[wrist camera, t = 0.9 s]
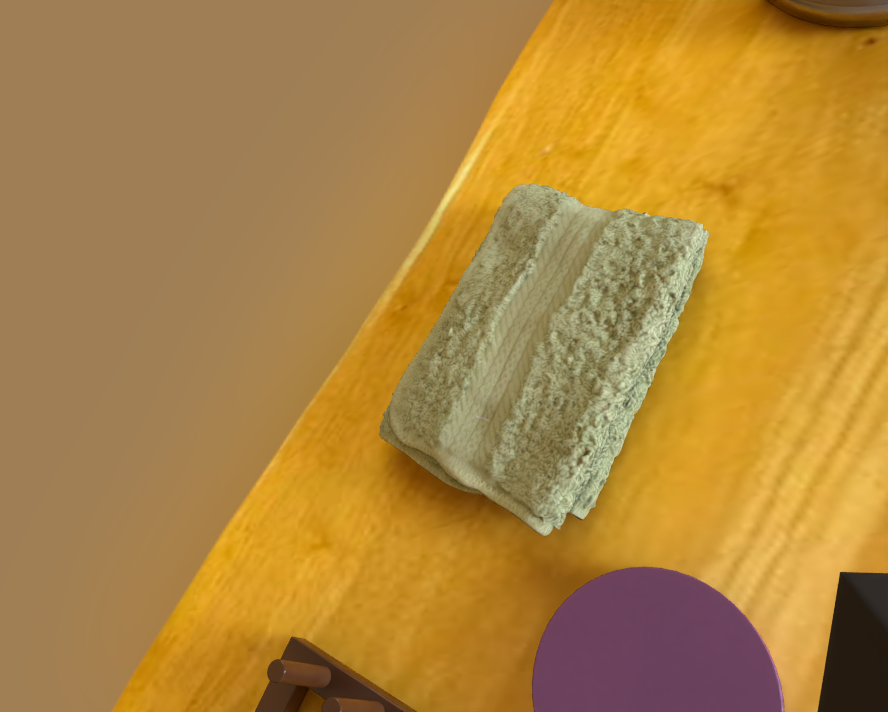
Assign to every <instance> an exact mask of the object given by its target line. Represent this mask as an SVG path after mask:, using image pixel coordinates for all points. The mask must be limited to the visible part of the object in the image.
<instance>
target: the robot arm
mask: <svg viewBox="0 0 888 712" xmlns="http://www.w3.org/2000/svg"><path fill="white" fill-rule="evenodd" d="M769 1H770V2H771V3H772V4H774V5H775V6H776V7H778V8H779V9H781V10H783V11H784V12H786V13H788V14H790V15H792V16H795V17H797V18H800V19H803V20H806V21H810V22H813V23H818V24H824V25H831V26H840V27H872V26H882V25H888V0H769ZM818 712H888V573H854V572H840V577H839V583H838V589H837V595H836V602H835V608H834V614H833V620H832V626H831V633H830V639H829V645H828V651H827V658H826V664H825V670H824V676H823V682H822V689H821V695H820V701H819V707H818Z"/></svg>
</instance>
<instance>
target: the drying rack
mask: <svg viewBox="0 0 888 712" xmlns="http://www.w3.org/2000/svg"><path fill="white" fill-rule="evenodd" d="M267 674H268V678H269V680H270V682H269V684H268V686H267V688H266V690H265V692H264V694H263V696H262V698H261V700H260V702H259V704H258V706H257V708H256V711H255V712H297V711H298V709H299V707H300V705H301V703H302V701H303V699H304V696H305V694H306V692H307V690H308V688H310V689H311V690H313V691H314V692H315V693H317V694H318V695H320V696H321V697H323V698H324V699H325V700H326V701H325V702H324V704H323V706H322V712H417V711H415V710H413V709H412V708H410V707H409V706H407V705H406V704H404V703H403V702H401V701H400V700H398V699H397V698H395V697H393V696H392V695H390V694H389V693H387V692H386V691H384V690H383V689H381V688H380V687H378V686H376V685H375V684H373V683H372V682H370V681H369V680H367V679H366V678H364V677H363V676H361V675H360V674H358V673H356V672H355V671H353V670H352V669H350V668H349V667H347V666H346V665H344V664H343V663H341V662H339V661H338V660H336V659H335V658H333V657H332V656H330V655H329V654H327V653H326V652H324V651H323V650H321V649H319V648H318V647H316V646H315V645H313V644H312V643H310V642H309V641H307V640H306V639H302V638H297V637H291V639H290V641H289V643H288V645H287V647H286V649H285V651H284V653H283V655H282V657H281V659H277V660H274V661H273V662H272V663H271V664H270V665H269V667H268V671H267Z"/></svg>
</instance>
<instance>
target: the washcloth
mask: <svg viewBox="0 0 888 712" xmlns="http://www.w3.org/2000/svg"><path fill="white" fill-rule="evenodd" d="M710 234H711V233H708V232H707V231H706V230H704V229H703V224H698V223H697V222H694V221H690V220H682V219H674V218H667V217H663V216H652V217H651V216H649V215H647V213H643V214H641V213H638V212H634V211H633V210H631V209H623V210H617V211H615V212H612V211H609V210H606V209H600V208H595V207H589V206H585V205H583V204H582V203H580V202H579V201H578V200H577V199H575V198H574V197H572V196H568V195H567V194H566V193H565V192H562V193H561V194H560V192H559V191H557V190H555V189H553V188H551V187H548V186H539V185H537V184H529V185H524V184H522V185H518V186H516V187H515V188H513V189H512V190H511V191H510V192H509V193H508V194H507V196H506V197H505V198H504V200H503V204H502V206H501V207H499V209H498V211H497V213H496V214H495V217H494V222H493V224H492V225H491V229H490V231H489V233H488V234H487V236H486V238H485V240H484V241H483V242H482V244H481V246H480V248H479V249H478V250H477V251H476V253H475V256H474V257H473V259H472V262H471V264H470V265H469V266H468V268H467V269H466V271H465V272H464V274H463V275H462V277H461V279H460V282H459V283H458V286H457V288H456V290H455V291H454V292H453V294H452V295H451V297H450V299H449V301H448V303H447V304H446V305H445V308H444V310H443V312H442V313H441V316H440V318H439V319H438V321H437V323H436V324H435V326H434V328H433V329H432V330H431V332H430V334H429V336H428V337H427V339H426V340H425V342H424V343H423V344H422V346H421V348H420V350H419V352H418V353H417V355H416V356H415V357H414V359H413V360H412V362H411V363H410V364H409V365H408V368H407V370H406V371H405V373H404V374H403V376H402V378H401V380H400V382H399V384H398V386H397V388H396V390H395V392H394V393H392V395H393V397H392V400H391V402H390V405H389V406H388V408H387V410H386V411H385V413H384V414H383V416H384V418H383V420H382V422H381V426H380V433H379V434H380V437H381V438H382V439H384V440H385V441H386V442H388V443H390V444H391V445H393V446H394V447H395V448H398V449H399V450H401V451H402V452H404V453H405V454H407V455H408V456H409V457H410V458H412V459H413V460H414V461H416V462H417V463H418V464H420V465H421V466H422V467H423V468H424V469H425V470H427V471H429V472H431V473H432V474H433V475H434V476H435V477H437V478H439V479H440V480H441V481H443V482H444V483H445V484H447V485H449V486H453V487H455V488H456V489H459V490H462V491H464V492H467V493H473V494H482V495H483V496H485V497H486V498H487V499H489V500H491V501H493V502H494V503H496V504H498V505H500V506H501V507H503V508H505V509H506V510H508V511H509V512H511V513H512V514H514V515H515V516H517V517H518V518H520V520H522V521H523V522H525V523H526V524H527V525H528V526H530V527H531V528H532V529H533V530H534V531H536V532H538V533H540V534H541V535H543V536H547V535H548V534H550V532H551V531H552V529H553V528H554V527H556V528H557V529H559V530H560V526H561V525H562V524H563V523H564V520H565V517H566V513H567V512H569V513H571V514H573V515H574V516H576V517H577V518H578V519H581V520H583V519H584V518H585V517H586V516H587V515H588V512H589V511H590V509H591V508H595V507H596V500H597V498H598V495H599V493H600V491H601V489H602V488H603V485H604V483H606V478H608V476H609V471H610V469H611V465H612V464H613V462H614V458H615V457H616V456H617V455H619V453H620V451H621V449H622V445H623V443H624V441H625V438H626V435H627V432H628V429H629V428H630V425H631V423H632V420H633V419H634V413H637V412H638V410H639V408H640V407H641V405H642V402H643V400H644V399H645V396H646V394H647V389H648V388H649V387H651V382H652V381H653V380H654V374H655V372H656V367H657V366H658V365H659V362H660V360H661V359H662V358H663V357H664V355H665V353H666V350H667V348H666V345H667V343H668V342H669V341H670V340H671V337H672V336H673V334H674V332H675V331H676V329H677V326H678V325H679V321H678V317H679V316H680V314H681V313H682V312H683V311H684V305H685V303H686V302H687V300H688V298H689V296H690V294H691V289H692V284H693V282H694V279H695V278H696V275H697V274H698V272H699V271H700V270H701V266H702V263H703V260H704V250H705V246H706V245H707V239H708V235H710Z"/></svg>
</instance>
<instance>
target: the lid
mask: <svg viewBox="0 0 888 712" xmlns="http://www.w3.org/2000/svg"><path fill="white" fill-rule="evenodd" d="M532 698H533V707H534V712H784V700H783V694H782V688H781V683H780V680H779V676H778V673H777V670H776V667H775V664H774V662H773V660H772V657H771V655H770V653H769V650H768V649H767V647H766V645H765V644H764V642H763V640H762V638H761V637H760V635H759V634H758V632H757V631H756V630H755V628H754V627H753V626H752V624H751V623H750V621H749V620H748V619H747V618H746V616H745V615H744V614H743V613H742V612H741V611H740V610H739V609H738V608H737V607H736V606H735V605H734V604H733V603H732V602H731V601H730V600H728V599H727V598H726V597H725V596H724V595H722V594H721V593H720V592H718V591H717V590H715V589H714V588H712V587H711V586H709V585H707V584H706V583H704V582H702V581H700V580H698V579H696V578H693V577H691V576H689V575H686V574H683V573H680V572H677V571H673V570H668V569H663V568H654V567H634V568H626V569H621V570H616V571H613V572H610V573H607V574H604V575H601V576H599V577H597V578H595V579H593V580H591V581H589V582H588V583H586V584H585V585H583V586H582V587H580V588H579V589H577V590H576V591H575V592H574V593H573V594H572V595H571V596H570V597H568V598H567V599H566V600H565V601H564V603H563V604H562V605H561V606H560V607H559V608H558V610H557V611H556V612H555V614H554V615H553V617H552V619H551V620H550V622H549V623H548V625H547V627H546V629H545V631H544V633H543V635H542V638H541V641H540V644H539V647H538V650H537V653H536V658H535V663H534V668H533V679H532Z"/></svg>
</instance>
